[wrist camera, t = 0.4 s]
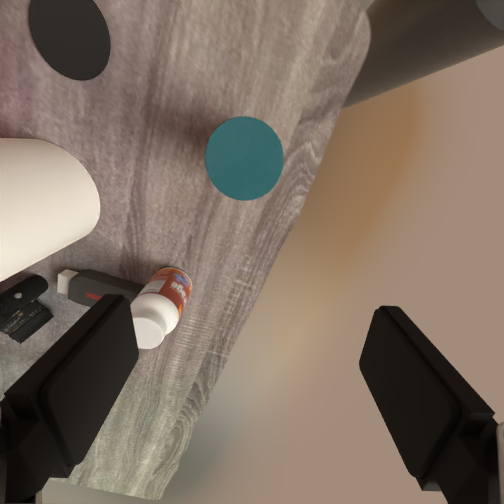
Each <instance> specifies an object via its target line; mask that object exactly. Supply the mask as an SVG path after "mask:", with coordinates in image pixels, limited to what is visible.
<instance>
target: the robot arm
mask: <svg viewBox="0 0 504 504" xmlns="http://www.w3.org/2000/svg"><path fill="white" fill-rule="evenodd" d="M138 356H139V350H138V344H137V339H136V334H135V328H134V323H133V318H132V312H131V307H130V302H129V299H127V298H125V296H124V295H123V294H108V293H107V294H105V295H103V296H102V297H101V298H100V299H99V300H98V301H97V302H96V303H95V304H94V305H93V306H92V307H91V308H90V309H89V310H88V311H87V312H86V313H85V314H84V315H83V316H82V317H81V318H80V319H79V320H78V321H77V322H76V323H75V324H74V325H73V326H72V327H71V328H70V329H69V330H68V331H67V332H66V333H65V334H64V335H63V336H62V337H61V338H60V339H59V340H58V341H57V342H56V343H55V344H54V345H53V346H52V347H51V348H50V349H49V350H48V351H47V352H46V353H45V354H44V355H43V356H42V357H41V358H39V359H38V360H37V361H36V362H35V363H34V364H33V365H32V366H31V367H30V368H29V369H28V370H27V371H26V372H25V373H24V374H23V375H22V376H21V377H20V378H19V379H18V380H17V381H16V382H15V383H14V384H13V385H12V386H11V387H10V388H9V389H8V390H7V391H6V392H5V393H4V395H5V398H4V399H3V400H2V401H1V402H0V504H42V488H43V487H44V485H45V483H46V482H47V480H48V479H49V477H52V478H68V477H69V476H70V474H71V472H72V470H73V468H74V467H75V465H78V464H80V463H81V462H82V461H83V459H84V458H85V456H86V454H87V452H88V450H89V449H90V447H91V445H92V443H93V441H94V439H95V438H96V436H97V434H98V432H99V430H100V428H101V427H102V425H103V423H104V421H105V419H106V417H107V416H108V414H109V412H110V410H111V408H112V406H113V405H114V403H115V401H116V399H117V397H118V395H119V394H120V392H121V390H122V388H123V386H124V384H125V382H126V381H127V379H128V377H129V375H130V373H131V371H132V370H133V368H134V366H135V364H136V362H137V360H138ZM359 366H360V370H361V372H362V375H363V377H364V379H365V381H366V383H367V385H368V387H369V390H370V392H371V394H372V396H373V398H374V400H375V402H376V404H377V406H378V409H379V411H380V413H381V415H382V417H383V419H384V421H385V423H386V426H387V428H388V430H389V432H390V434H391V436H392V438H393V440H394V442H395V444H396V446H397V449H398V451H399V453H400V455H401V457H402V459H403V462H404V464H405V466H406V468H407V470H408V472H409V473H410V474H411V475H412V476H413V477H416V479H417V481H418V483H419V485H420V487H421V490H422V491H442V493H443V494H444V496H445V498H446V500H447V502H448V504H504V422H502V423H500V424H498V423H497V422H496V421H495V420H494V419H493V418H492V417H493V415H494V414H495V412H494V411H493V410H492V409H491V408H490V407H489V406H488V405H487V404H486V403H485V401H484V400H483V399H482V398H481V397H480V396H479V395H478V394H477V392H476V391H475V390H474V389H473V388H472V387H471V386H470V385H469V384H468V383H467V381H466V380H465V379H464V378H463V377H462V376H461V375H460V374H459V373H458V371H457V370H456V369H455V368H454V367H453V366H452V365H451V364H450V363H449V362H448V360H447V359H446V358H445V357H444V356H443V355H442V354H441V353H440V351H439V350H438V349H437V348H436V347H435V346H434V345H433V344H432V343H431V341H430V340H429V339H428V338H427V337H426V336H425V335H424V334H423V333H422V331H421V330H420V329H419V328H418V327H417V326H416V325H415V324H414V323H413V322H412V320H410V318H409V317H408V316H407V315H406V314H405V313H404V312H403V310H402V309H401V308H399V307H398V306H380V307H379V309H376V310H375V312H374V315H373V318H372V321H371V324H370V328H369V331H368V334H367V338H366V341H365V344H364V347H363V351H362V354H361V357H360V361H359Z"/></svg>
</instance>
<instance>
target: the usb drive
mask: <svg viewBox="0 0 504 504" xmlns="http://www.w3.org/2000/svg"><path fill="white" fill-rule="evenodd" d="M144 287H145V286H143V285H139V284H136V283H133V282H130V281H126V280H123V279H120V278H116V277H113V276H110V275H107V274H103V273H100V272H97V271H94V270H82V271H80V272H76V271H72V270H69V269H66V270H64V271H63V272H61V273H59V274H58V288H57V292H59V293H63V294H66V295H68V299H70V300H72V301H74V302H76V303H78V304H81V305H85V306H88V307H92V306H93V305H94V304H95V303H96V302H97V301H98V300H99V299H100V298H101V297H102V296H103V295H105V294H107V293H108V294H123V295H124V296H125V298H127V299H129V302H130V305H131V304H132V302H133V301H134V299H135V298H136V297H137V296H138V295H139V293H140V292H141V291H142V290H143V288H144Z"/></svg>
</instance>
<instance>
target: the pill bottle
mask: <svg viewBox="0 0 504 504" xmlns="http://www.w3.org/2000/svg"><path fill="white" fill-rule="evenodd" d="M191 291H192V283H191V280H190V278H189V277H188V275H187V274H186V273H184V272H183V271H182V270H180V269H177V268H173V267H168V268H163V269H161V270H159V271H158V272H156V274H155V275H154V276H153V277H152V278H151V280H150V281H149V282H148V283H147V285H146V286H145V287H144V288H143V290H142V291H141V292H140V293H139V295H138V296H137V297H136V298H135V299H134V301H133V302H132V304H131V305H130V307H131V312H132V318H133V323H134V328H135V334H136V339H137V344H138V348H142V349H151V348H155V347H157V346H158V345H159V344H160V343H161V342H162V341H163V339H164V337H165V335H166V334H168V333H170V332H171V331H172V330H173V329H174V328H175V326H176V324H177V323H178V320H179V318H180V316H181V314H182V311H183V309H184V307H185V305H186V303H187V300H188V298H189V296H190V294H191Z"/></svg>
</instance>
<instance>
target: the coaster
mask: <svg viewBox="0 0 504 504" xmlns="http://www.w3.org/2000/svg"><path fill="white" fill-rule="evenodd" d="M29 25H30V30H31V34H32V37H33V40H34V42H35V44H36V46H37V48H38V50H39V52H40V53H41V55H42V56H43V58H44V59H45V60H46V61H47V62H48V64H49V65H50V66H51V67H53V68H54V69H55V70H56V71H57V72H59V73H60V74H62V75H64V76H66V77H69V78H71V79H75V80H90V79H92V78H94V77H96V76H98V75H99V74H100V73H101V72H102V71H103V70H104V68H105V66H106V65H107V62H108V59H109V55H110V36H109V31H108V28H107V24H106V22H105V19H104V17H103V15H102V13H101V11H100V10H99V8H98V7H97V5H96V4H95V3H94V1H93V0H31V3H30V7H29Z"/></svg>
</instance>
